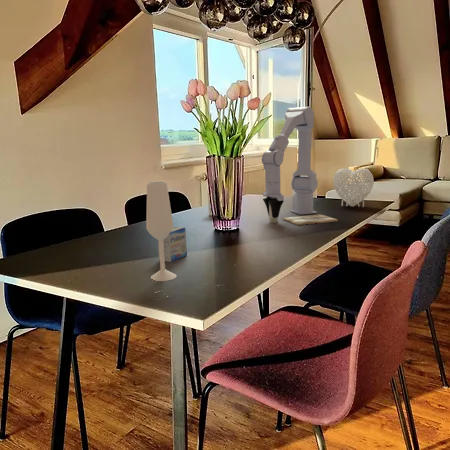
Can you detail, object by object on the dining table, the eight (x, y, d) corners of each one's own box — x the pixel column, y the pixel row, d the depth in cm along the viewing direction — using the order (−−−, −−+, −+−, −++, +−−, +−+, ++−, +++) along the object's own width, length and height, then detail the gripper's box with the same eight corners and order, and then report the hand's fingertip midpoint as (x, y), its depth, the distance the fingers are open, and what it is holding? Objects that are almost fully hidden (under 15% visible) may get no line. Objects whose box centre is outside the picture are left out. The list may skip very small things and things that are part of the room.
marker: (267, 222, 177) (267, 201, 176) (275, 221, 179) (275, 201, 177) (271, 223, 174) (271, 203, 173) (279, 222, 175) (279, 202, 174)
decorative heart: (376, 205, 203) (377, 167, 200) (368, 209, 195) (369, 169, 191) (338, 203, 214) (338, 167, 210) (329, 207, 205) (329, 169, 202)
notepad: (282, 219, 181) (282, 217, 181) (320, 215, 186) (320, 213, 186) (298, 225, 169) (298, 223, 169) (337, 221, 174) (337, 218, 174)
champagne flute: (144, 278, 114) (137, 183, 109) (161, 271, 119) (155, 180, 114) (165, 282, 110) (158, 184, 105) (181, 274, 116) (176, 181, 111)
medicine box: (170, 262, 127) (168, 232, 125) (158, 261, 129) (156, 231, 128) (187, 255, 134) (185, 227, 132) (175, 254, 136) (173, 226, 134)
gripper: (255, 181, 179) (256, 214, 182) (271, 184, 165) (271, 220, 168) (272, 179, 181) (272, 213, 184) (288, 183, 167) (288, 219, 170)
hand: (273, 216), depth 176 cm, fingers closed on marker, 3 cm apart
